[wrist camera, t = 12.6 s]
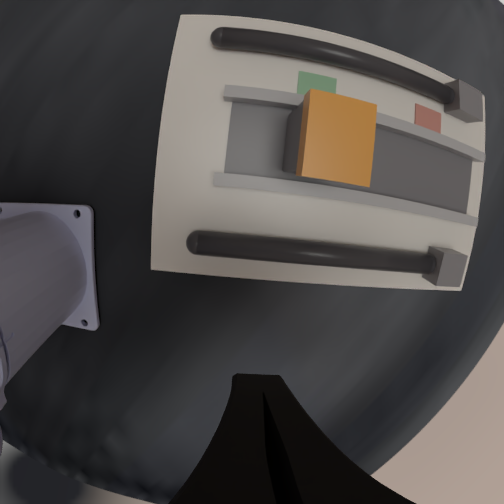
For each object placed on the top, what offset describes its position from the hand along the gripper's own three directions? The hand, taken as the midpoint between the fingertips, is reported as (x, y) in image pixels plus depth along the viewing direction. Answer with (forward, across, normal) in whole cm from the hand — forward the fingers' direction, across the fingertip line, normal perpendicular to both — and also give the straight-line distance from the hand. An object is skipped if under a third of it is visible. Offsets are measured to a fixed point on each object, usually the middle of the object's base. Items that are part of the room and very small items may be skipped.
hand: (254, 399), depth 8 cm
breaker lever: (+8, -2, -8) cm, 11 cm away
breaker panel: (+9, -5, -8) cm, 13 cm away
